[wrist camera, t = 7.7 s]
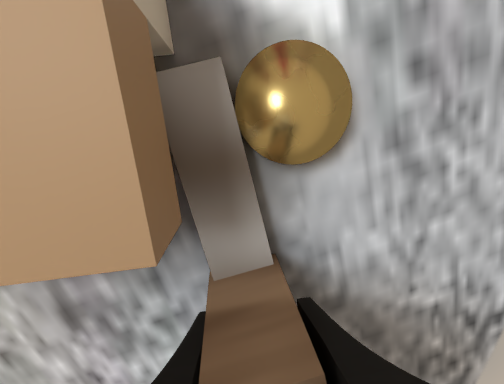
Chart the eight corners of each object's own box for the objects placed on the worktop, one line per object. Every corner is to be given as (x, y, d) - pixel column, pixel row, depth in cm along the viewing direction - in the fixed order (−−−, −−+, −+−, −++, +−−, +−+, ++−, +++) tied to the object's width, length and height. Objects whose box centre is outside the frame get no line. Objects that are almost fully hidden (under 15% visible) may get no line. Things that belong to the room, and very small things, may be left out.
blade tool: (289, 308, 15) (345, 464, 8) (227, 326, 14) (231, 500, 8) (226, 61, 11) (230, -39, 5) (147, 80, 11) (30, 7, 4)
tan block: (196, 196, 13) (156, 266, 6) (-12, 220, 13) (-298, 323, 6) (161, -25, 11) (43, -283, 4) (-91, -5, 10) (-689, -256, 4)
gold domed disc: (341, 152, 13) (355, 155, 12) (243, 167, 13) (244, 172, 12) (334, 44, 12) (348, 31, 11) (226, 59, 12) (225, 48, 10)
